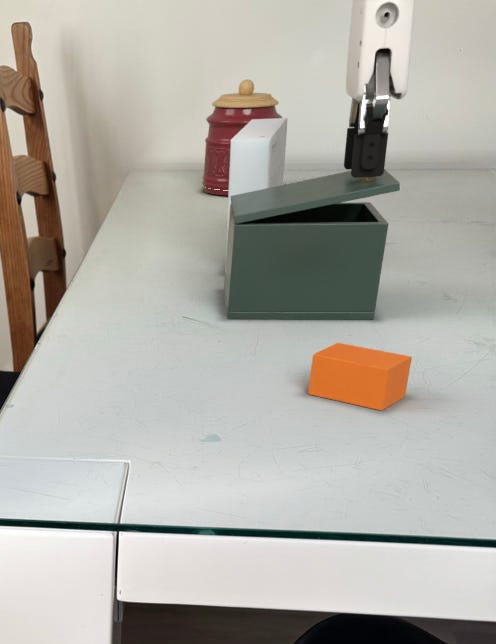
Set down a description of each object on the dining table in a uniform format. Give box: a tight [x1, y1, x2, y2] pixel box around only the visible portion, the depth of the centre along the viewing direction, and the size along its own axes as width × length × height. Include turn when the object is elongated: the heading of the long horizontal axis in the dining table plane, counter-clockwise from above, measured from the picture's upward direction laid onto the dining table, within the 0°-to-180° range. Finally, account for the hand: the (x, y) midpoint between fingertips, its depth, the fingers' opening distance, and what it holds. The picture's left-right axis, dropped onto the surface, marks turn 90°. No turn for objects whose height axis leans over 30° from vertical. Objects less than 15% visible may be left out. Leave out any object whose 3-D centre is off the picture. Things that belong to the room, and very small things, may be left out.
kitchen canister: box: [201, 79, 283, 197], centre depth 176 cm, size 13×13×18 cm
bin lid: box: [231, 168, 401, 224], centre depth 107 cm, size 16×13×5 cm
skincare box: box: [224, 117, 288, 271], centre depth 131 cm, size 21×6×16 cm, turn 162°
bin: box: [223, 201, 389, 321], centre depth 112 cm, size 16×13×10 cm
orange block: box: [307, 342, 413, 412], centre depth 87 cm, size 7×4×4 cm, turn 47°
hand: (363, 170), depth 106 cm, fingers closed on bin lid, 5 cm apart
